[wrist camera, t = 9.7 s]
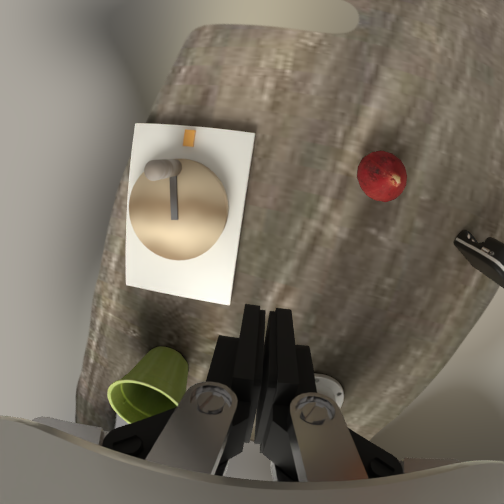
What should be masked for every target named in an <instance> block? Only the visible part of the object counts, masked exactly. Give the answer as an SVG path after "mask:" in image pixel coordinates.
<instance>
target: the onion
mask: <svg viewBox="0 0 504 504" xmlns="http://www.w3.org/2000/svg"><path fill="white" fill-rule="evenodd" d="M357 178H358V181H359V184H360V187H361V188H362V190H363V191H364V192H365V194H366V195H367V196H369V197H370V198H372V199H374V200H377V201H383V202H388V201H391V200H394V199H396V198H397V197H398V196H399V195H400V194H401V193H402V192H403V190H404V188H405V186H406V181H407V174H406V169H405V167H404V165H403V163H402V162H401V160H400V159H399V158H397V157H396V156H395V155H393V154H392V153H388V152H385V151H376V152H372V153H370V154H368V155H367V156H365V157H364V158H363V159H362V160H361V162H360V164H359V166H358V171H357Z"/></svg>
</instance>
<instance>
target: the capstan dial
mask: <svg viewBox="0 0 504 504" xmlns="http://www.w3.org/2000/svg"><path fill="white" fill-rule="evenodd" d="M228 211H229V206H228V198H227V194H226V191H225V188H224V186H223V184H222V182H221V181H220V179H219V178H218V177H217V176H216V174H215V173H214V172H213V171H211V170H210V169H209V168H208V167H206V166H205V165H203V164H201V163H199V162H197V161H193V160H189V159H160V160H151V161H149V162H148V163H147V164H146V165H145V168H144V172H143V173H142V174H141V175H140V176H139V178H138V179H137V181H136V182H135V184H134V186H133V189H132V191H131V195H130V199H129V216H130V221H131V224H132V227H133V230H134V232H135V234H136V235H137V237H138V238H139V240H140V241H141V242H142V243H143V245H144V246H145V247H147V248H148V249H149V250H150V251H152V252H153V253H155V254H157V255H158V256H161V257H163V258H166V259H170V260H188V259H192V258H196V257H198V256H200V255H202V254H203V253H205V252H207V251H208V250H209V249H210V248H211V247H212V246H213V245H214V244H215V243H216V242H217V240H218V239H219V237H220V235H221V234H222V232H223V230H224V228H225V226H226V223H227V219H228Z"/></svg>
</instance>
